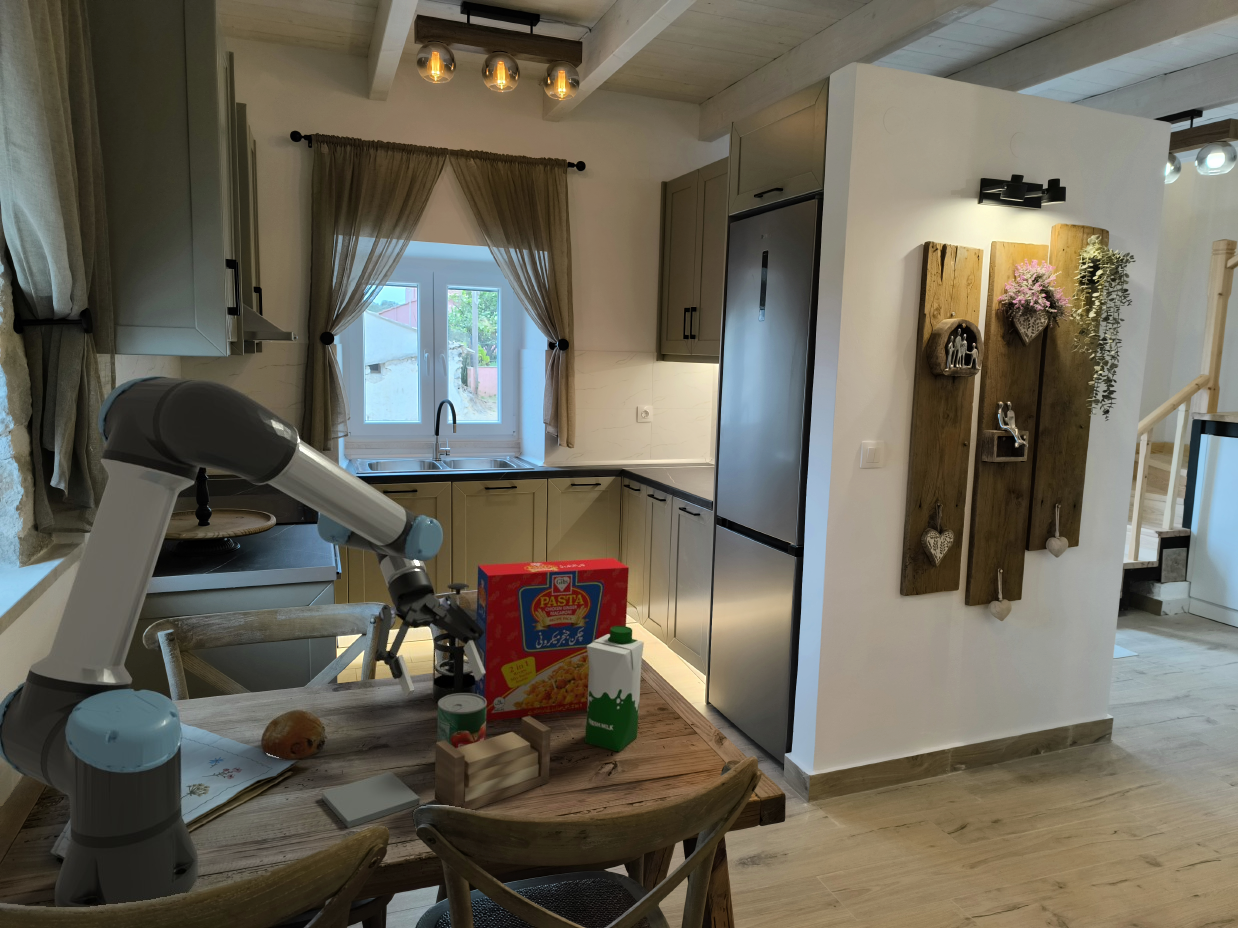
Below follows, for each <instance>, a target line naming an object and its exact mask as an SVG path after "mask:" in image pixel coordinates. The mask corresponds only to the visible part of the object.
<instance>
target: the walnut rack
mask: <svg viewBox="0 0 1238 928" xmlns="http://www.w3.org/2000/svg"><path fill="white" fill-rule="evenodd" d="M520 725H521V727H520V728H521V729H520V730H521V731H520V737H521V738H522V739H524V740H525V741H527V742H528V743H530V747H531V748H532V749H534V750H535V751H537V752H538V764H539V768H538V777H535V778H532V779H529V780H526V781H524V782H521V783H518V784H515V785H512V786H509V787H506V788H503V789H500V790H498V791H495V792H492V793H489V794H486V795H483V796H480V797H477V798H475V799H472V800H469V801H466V802H464V764H465V755H464V754H463V753H461V752H460V751H459V750H457V749H456V748H455V747H453V746H452V745H451V744H449V743H448V742H447V741H445V740H443V741H440V742H435V762H434V763H435V764H434V765H435V766H434V769H435V770H434V800H435V799H436V800H437V801H436V800H435V801H436V802H437V803H438V804H440V806H442V805H449V806H455V807H461V808H465V809H473V810H477V809H478V808H481V807H484V806H488V805H489V803H490V804H494V803H495V802H498V801H502V800H504V799H507V798H509V797H513V796H515V795H518V794H521V793H524V792H526V791H528V790H532V789H535V788H537V787H538V788H539V787H541V786H543V785H546V784H548V783H549V784H550V781H549V780H550V759H551V757H550V755H551V732H552V731H551V730H552V729H551V728H550V727H548V726H547V725H545V724H544V723H541V722H540V721H538V720H537V719H535V718H534V717H533V716H527V717H521V724H520ZM540 785H541V786H540Z"/></svg>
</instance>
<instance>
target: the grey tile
mask: <svg viewBox="0 0 1238 928" xmlns="http://www.w3.org/2000/svg"><path fill="white" fill-rule="evenodd" d="M321 799H322V801H324V803H325V804H326V805H327V806H328V807H329V808H330V810H332V812H334V814H335V815H336V816H337V817H338V819H340V820H341V822H343V824H344V825H345V826H346V827H347V828H348V829H349V828H352V827H355V826H358V825H362V824H364V823H368V822H370V821H373V820H376V819H380V818H383V817H386V816H388V815H389V816H390V815H392V814H394V813H397V812H401V811H404V810H406V809H409V808H413V807H416V806H418V805H417V804H419V805H420V803H421V802H420V800H421V799H420V797H419V796H418V795H417V794H416V793H415V792H414V791H413V790H412V789H410V788H409V787H408V785H406V784H405V783H404V782H403V781H402V780H401V779H400V778H398V776H396V775H395V774H394V773H393V772H392V771H387V772H384V773H381V774H378V775H374V776H371V777H368V778H365V779H361V780H358V781H353V782H351V783H348V784H344V785H341V786H338V787H334V788H331V789H328V790H324V791H321Z"/></svg>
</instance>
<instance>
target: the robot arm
mask: <svg viewBox="0 0 1238 928" xmlns="http://www.w3.org/2000/svg"><path fill="white" fill-rule="evenodd" d="M97 419H98V420H97V425H98V431H99V433H100V434H101V437H102V441H103V442H104V443H105V446H104V450H103V453H102V456H101V459H100V462H101V465H102V466H103V468H104V469H105V470H106V473H107V474H108V479H107V481H106V485H105V488H104V491H103V494H102V497H101V500H100V503H99V506H98V508H97V511H96V514H95V518H94V521H93V523H92V526H91V529H90V532H89V535H88V539H87V542H86V544H85V547H84V550H83V553H82V556H81V559H80V562H79V565H78V568H77V571H76V573H75V577H74V579H73V582H72V586H71V589H70V592H69V594H68V597H67V601H66V602H65V603H66V604H65V607H64V609H63V612H62V616H61V618H60V622H59V624H58V626H57V630H56V633H55V636H54V639H53V642H52V645H51V648H50V651H49V653H48V654H47V656H45V657H44V658H42V659H40V660H38V661H36V662H35V663H33V664H31V665H30V667H29V671H28V673H27V675H26V679H25V681H23V682H22V683H20V684H19V685H18V686H17V688H16V689H15V690H12V691H10V692H8V694H7V695H6V696H5V697H4V698H3V700H2V701H1V702H0V758H1V759H2V760H3V761H4V762H5V763H7V764H8V765H9V766H10V767H12V769H13V770H14V771H16V772H17V773H19V774H21V775H23V776H26V777H29V778H32V779H35V780H36V781H38V782H40V783H42V784H44V785H46V786H49V787H50V788H53V789H54V790H57V791H59V792H61V793H63V794H64V795H66V796H67V797H68V799H69V818H70V819H69V821H70V841H69V845H68V847H67V851H66V853H65V856H64V858H63V862H62V864H61V868H60V871H59V872H58V876H57V880H56V882H55V887H54V907H55V906H57V907H90V906H98V905H106V904H118V903H126V902H136V901H143V900H151V899H156V898H160V897H167V896H171V895H175V894H180V893H185V892H187V893H188V892H189V891H190V890H191V888H193V886H194V884H195V883H196V880H198V879H197V878H198V875H199V855H198V852H197V848H196V846H195V843H194V841H193V838H192V836H191V835H190V832H189V830H188V827H187V825H186V823H185V820H184V818H183V816H182V813H183V812H182V739H183V731H182V726H181V720H180V713H179V712H180V711H179V710H178V707H177V705H176V704H175V703H174V701H173V700H171V698H169V697H167V696H166V695H164V694H162V693H159V692H157V691H152V690H148V689H140V690H138V691H137V690H134V689H133V688H131V685H132V681H133V678H132V676H131V675H130V673H129V671H128V670H127V668H126V667H125V662H126V659H127V656H128V653H129V650H130V647H131V645H132V644H131V643H132V640H133V637H134V634H135V631H136V627H137V624H138V621H139V618H140V616H141V611H142V608H143V607H144V602H145V600H146V596H147V593H148V590H149V586H150V583H151V580H152V577H153V574H154V571H155V567H156V565H157V562H158V559H159V558H158V557H159V555H160V552H161V550H162V545H163V542H164V540H165V537H166V533H167V530H168V527H169V525H170V521H171V517H172V514H173V511H174V508H175V505H176V502H177V498H178V496H179V494H180V492H182V491H184V490H185V489H187V488H189V487H191V486H193V485H195V481H196V478H197V475H198V472H199V470H200V468H205V469H211V470H216V471H221V472H224V473H229V474H232V475H234V476H237V477H240V478H242V479H244V480H246V481H247V482H249V483H251V484H254V485H260V486H262V485H266V484H268V485H270V486H272V487H274V488H276V489H278V490H279V491H281V493H282V492H283V493H284V494H286V495H288V496H290V497H291V498H293V499H295V500H296V501H299V502H300V503H302V504H303V505H306V506H308V507H309V508H311V509H313V510H314V511H316V512H318V513H319V516H318V520H317V532H318V535H319V537H320V538H321V539H322V540H323V541H324V542H326V543H328V544H329V543H330V544H333V545H334V546H338V547H340V546H341V547H345V548H350V549H356V550H361V551H364V552H369V553H373V554H375V557H376V559H377V562H378V565H379V568H380V570H381V573H382V576H383V578H384V581H385V584H386V586H387V589H388V590H387V591H388V594H389V596H390V599H391V602H392V604H393V605H394V606H390V605H389V604H387V603H385V604H383V605H382V608H381V609H380V610H379V612H378V616H379V617H378V618H379V621H380V624H379V630H378V636H377V641H376V646H375V653H374V658H373V659H374V661H375V662H377V663H378V662H381V661H383V663H384V664H385V665H386V666H388V667H389V670H390V673H391V676H392V678H393V680H398V682H399V685H400V687H401V691H402V693H403V697H404V698H405V699H406V698H410V697H411V695H412V694H413V693H414V692H415V687H414V684H413V681H412V678H411V675H410V673H409V670H408V667H407V664H406V660H405V659H404V656H403V654H399V655H398V652H399V651H400V648H401V646H402V644H403V642H404V640H405V638H406V635H407V633H408V631H409V629H410V627H411V628H413V629H417V628H418V629H419V628H420V627H428V626H430V625H433V626H435V627H436V628H437V627H440V628H442V629H443V630H444V631H445V633H449V634H451V635H452V636H454V637H455V638H457V639H458V640H459V641H460V642H462V644H465V645H464V646H465V647H464V651H465V652H464V655H465V656H466V658H467V660H468V661H469V664H470V666H471V669H472V672H473V673H472V675H474V677H475V679H476V680H480V679H481V677H482V676H483V675H484V674H485V673H486V672H485V670H484V667H483V665H482V662H481V660H480V658H481V657H482V652H481V650H480V647H479V645H478V642H477V641H478V640H479V639H480V638H481V636H482V635H483V634H484V630H483V629H482V628H481V627H480V626H479V625H478V624H477V623H476V622H475V621H474V620H473V619H472V618H471V617H470V616H469V615H468V614H467V613H466V612H465V611H464V610H463V609H464V608H462V607H461V606H460V605H458V604H457V600H456V599H455V598H454V595H453V594H451V593H448V594H447V595H446V596H444V597H443V598H438V597H437V596H436V595H435V590H434V589H435V588H434V585H433V584H432V581H431V578H430V576H429V573H428V572H427V568H426V565H425V563H424V562H427V561H430V560H432V559H433V558H434V557H435V556H437V555H438V553H439V552H440V549H441V546H442V544H443V539H444V533H443V528H442V526H441V524H440V522H439V521H438V520H437V519H435V518H432V517H429V516H427V515H425V514H424V515H423V514H420V515H418V514H415V513H413V512H412V511H410V510H409V509H407V508H405V507H404V506H402V505H400V504H398V503H397V502H395V501H394V500H392V498H389V497H388V496H386V495H385V494H383V493H382V492H381V491H379V490H377V489H376V488H375V487H373V486H372V485H370V484H368V483H367V482H365V481H364V480H362V479H361V478H359V477H358V476H356V475H355V474H354V473H352V472H350V471H348V470H347V469H345V468H344V467H343V466H342V465H340V464H338V463H336V462H335V461H333V460H332V459H330V458H329V457H327V455H324V454H323V453H321V452H320V451H319V450H317V449H315V448H314V447H312V446H311V445H309V444H308V443H306V441H305V442H304V441H303V440H302V439H300V436H299V431H298V430H297V428H296V427H295V426H294V425H292V424H291V423H289V422H288V421H286V420H285V419H283V418H282V417H280V416H279V415H278V414H276V413H274V412H273V411H271V410H270V409H268V408H267V407H265V406H264V405H263V404H261V403H259V402H257V401H256V400H255V399H253V398H251V397H250V396H247V395H246V394H244V393H243V392H241V391H239V390H236V389H234V388H232V387H231V386H228V385H226V384H223V383H220V382H217V381H213V380H202V379H185V378H178V377H177V378H176V377H168V376H162V375H161V376H160V375H158V376H157V375H156V376H155V375H154V376H148V377H147V376H146V377H139V378H133V379H129V380H127V381H126V382H123V383H121V384H119V385H118V386H117V387H115V388H114V389H113V390H111V392H110V393H109V394H108V395H106V397H105V399H104V400H103V402H102V403H101V406H100V409H99V412H98V418H97ZM440 607H441V608H440ZM443 610H446V612H447V613H448V614H449V615H450V616H451V617H452V618H453V619H454V620H453V619H452V618H450V617H449V616H447V613H446V612H444V611H443ZM394 616H396V617H397V618H399V619H400V620H401V621H402V622H401V624H400V626H399V628H398V631H397V633H396V636H395V638H394V640H393V642H392V644H391V646H390V648H389V650H387V648H388V643H389V636H390V630H391V624H392V619H393V617H394ZM436 616H439V619H437V618H436ZM443 630H442V631H443ZM397 655H398V656H397Z"/></svg>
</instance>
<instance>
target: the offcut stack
mask: <svg viewBox="0 0 1238 928" xmlns="http://www.w3.org/2000/svg"><path fill="white" fill-rule="evenodd" d="M456 749H457V750H459V751H460V752H461V753H463V754H464V755H465V764H464V802H466V801H469V800H472V799H475V798H477V797H480V796H483V795H486V794H489V793H492V792H495V791H498V790H500V789H503V788H506V787H509V786H512V785H515V784H518V783H521V782H524V781H526V780H529V779H532V778H535V777H538V768H539V764H538V752H537V751H535V750H534V749H532V748H531V747H530V743H528V742H527V741H525V740H524V739H522V738H521V736H520V735H518V734H516V733H515V732H514V731H511V732H507V733H504V734H500V735H496V736H494V737H490V738H485V740H483V741H479V742H476V743H473V744H469V745H466V746H462V747H459V748H456Z"/></svg>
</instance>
